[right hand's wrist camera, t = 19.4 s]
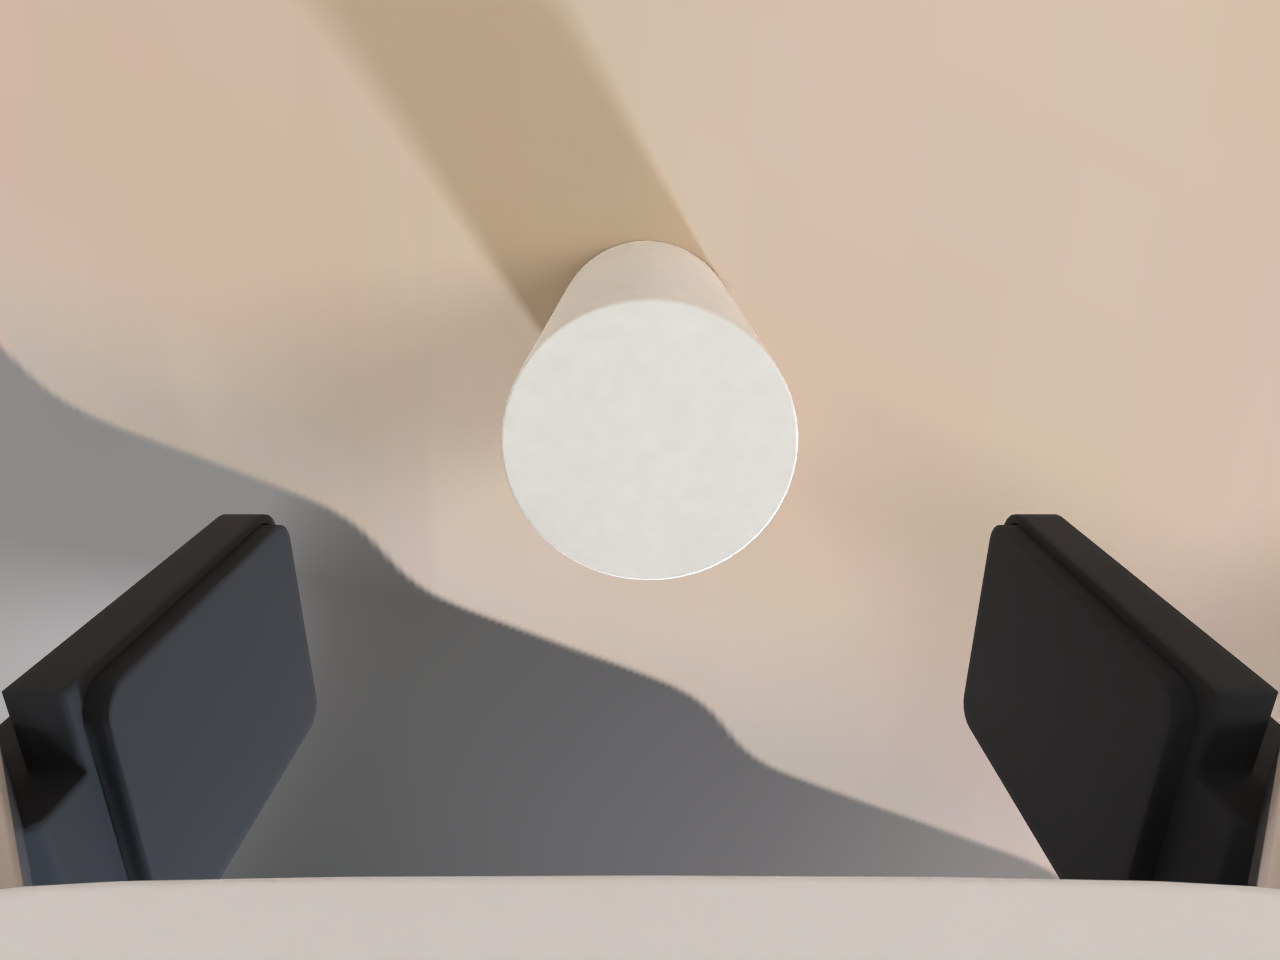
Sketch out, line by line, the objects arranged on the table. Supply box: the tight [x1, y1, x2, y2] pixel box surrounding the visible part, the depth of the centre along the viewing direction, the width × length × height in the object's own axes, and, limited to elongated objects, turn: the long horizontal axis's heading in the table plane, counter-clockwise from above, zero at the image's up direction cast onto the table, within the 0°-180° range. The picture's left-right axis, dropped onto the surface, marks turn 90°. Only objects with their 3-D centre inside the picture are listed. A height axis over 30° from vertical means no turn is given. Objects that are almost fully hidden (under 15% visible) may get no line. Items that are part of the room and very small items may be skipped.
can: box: [501, 241, 798, 580], centre depth 22 cm, size 6×6×12 cm
